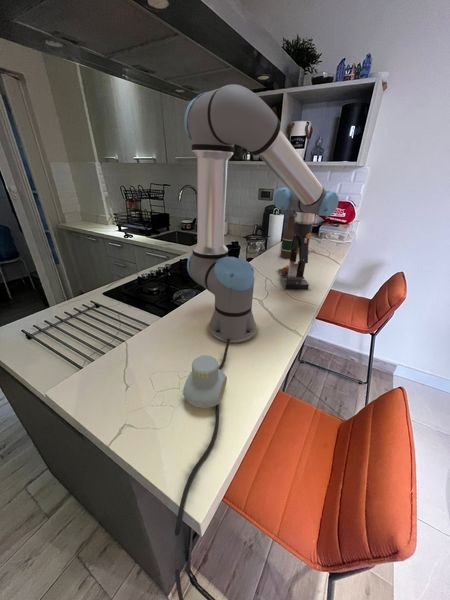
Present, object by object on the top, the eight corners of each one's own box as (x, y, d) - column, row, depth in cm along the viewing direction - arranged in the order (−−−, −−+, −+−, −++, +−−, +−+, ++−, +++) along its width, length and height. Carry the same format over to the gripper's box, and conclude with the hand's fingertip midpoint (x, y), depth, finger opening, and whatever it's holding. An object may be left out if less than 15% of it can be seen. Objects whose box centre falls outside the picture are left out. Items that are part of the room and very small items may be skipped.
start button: (293, 271, 124) (294, 268, 123) (286, 271, 124) (286, 267, 123) (292, 268, 127) (292, 265, 127) (284, 268, 127) (285, 265, 126)
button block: (299, 279, 123) (300, 273, 121) (282, 278, 123) (283, 273, 121) (294, 271, 131) (295, 265, 130) (278, 270, 131) (279, 265, 130)
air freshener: (215, 418, 56) (215, 385, 51) (180, 409, 58) (177, 376, 53) (228, 381, 65) (229, 351, 60) (198, 375, 67) (196, 344, 62)
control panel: (308, 289, 113) (309, 284, 111) (285, 289, 112) (285, 283, 111) (301, 279, 122) (302, 274, 121) (280, 279, 122) (281, 274, 121)
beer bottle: (277, 255, 153) (282, 213, 141) (288, 253, 156) (293, 212, 144) (285, 259, 147) (291, 216, 135) (296, 257, 150) (302, 215, 138)
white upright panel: (300, 278, 117) (303, 261, 113) (301, 280, 115) (304, 263, 111) (287, 278, 117) (289, 260, 113) (288, 280, 115) (291, 262, 111)
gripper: (287, 216, 115) (281, 261, 125) (302, 229, 93) (293, 282, 103) (304, 216, 115) (297, 261, 125) (322, 229, 93) (312, 282, 103)
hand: (295, 271), depth 114 cm, fingers open, 13 cm apart
